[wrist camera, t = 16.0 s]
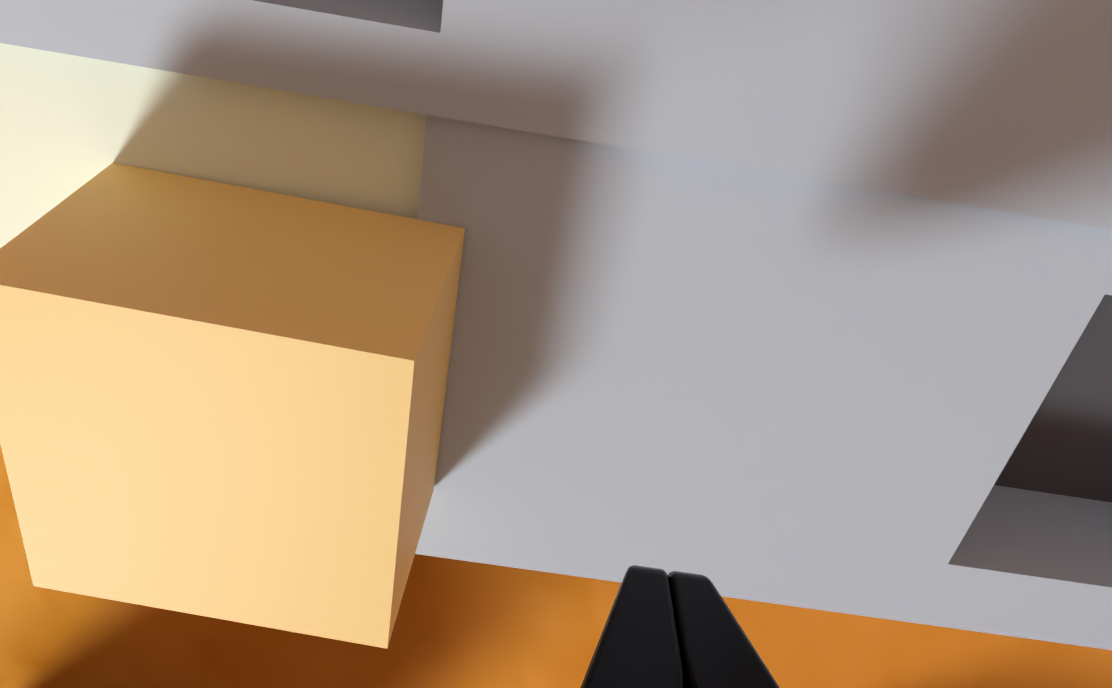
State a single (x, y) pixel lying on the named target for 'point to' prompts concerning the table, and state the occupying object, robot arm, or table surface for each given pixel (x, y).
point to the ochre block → (226, 399)
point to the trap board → (686, 266)
